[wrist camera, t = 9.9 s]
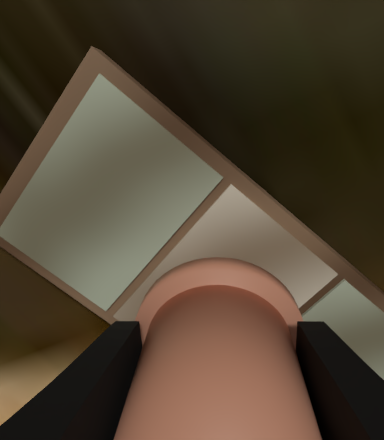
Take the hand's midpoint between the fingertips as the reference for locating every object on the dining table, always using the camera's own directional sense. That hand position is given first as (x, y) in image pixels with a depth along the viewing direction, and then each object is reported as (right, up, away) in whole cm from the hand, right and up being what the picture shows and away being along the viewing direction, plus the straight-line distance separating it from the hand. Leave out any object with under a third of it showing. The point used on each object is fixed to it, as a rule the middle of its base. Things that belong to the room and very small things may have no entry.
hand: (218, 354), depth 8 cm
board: (+2, 0, +3) cm, 4 cm away
